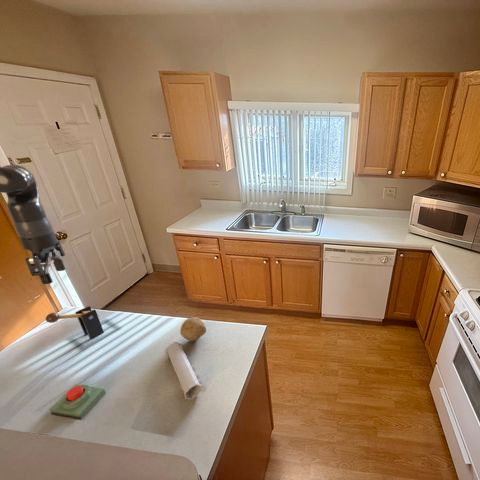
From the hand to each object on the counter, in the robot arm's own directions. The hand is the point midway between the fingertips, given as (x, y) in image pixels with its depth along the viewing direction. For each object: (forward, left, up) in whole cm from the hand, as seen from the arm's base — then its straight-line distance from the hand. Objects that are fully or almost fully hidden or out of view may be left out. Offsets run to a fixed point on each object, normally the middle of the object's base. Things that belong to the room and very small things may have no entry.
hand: (55, 276), depth 85 cm
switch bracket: (-1, +5, -32) cm, 32 cm away
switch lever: (-3, 0, -20) cm, 20 cm away
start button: (+19, -19, -28) cm, 39 cm away
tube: (+43, -4, -32) cm, 54 cm away
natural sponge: (+38, +11, -32) cm, 51 cm away
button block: (+19, -19, -32) cm, 42 cm away
